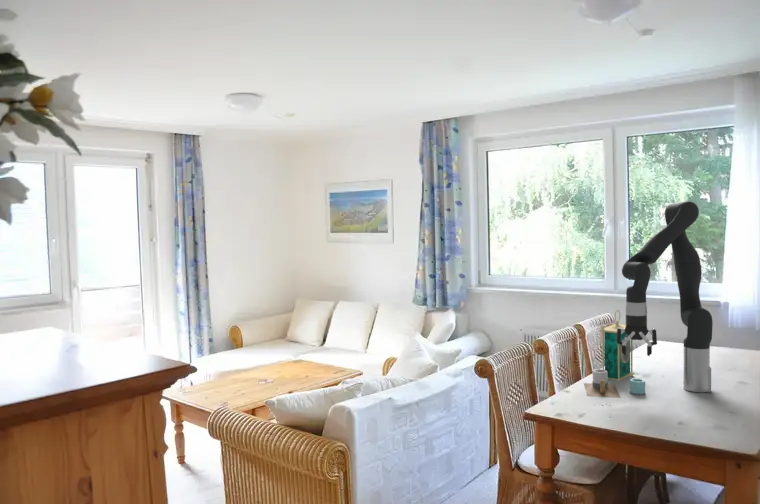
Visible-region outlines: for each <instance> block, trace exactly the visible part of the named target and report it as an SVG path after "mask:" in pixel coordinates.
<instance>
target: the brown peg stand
mask: <svg viewBox="0 0 760 504" xmlns="http://www.w3.org/2000/svg"><path fill="white" fill-rule="evenodd" d="M583 385H584V390H585V393H586V396H587V397H601V398H619V399H620V398H621V395H620V393H619V391H618V389H617V386H616V385H615V384H614V383H613V384H611V383H608V387H607V388H606V389H605V380H600V389H598V388H594V387H593V386H592V383H587V382H585V383H583Z"/></svg>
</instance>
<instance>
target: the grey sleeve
mask: <svg viewBox="0 0 760 504" xmlns="http://www.w3.org/2000/svg"><path fill="white" fill-rule="evenodd" d="M600 380H605V389H606V388H607V387H608V384H609V381H608V380H609V379H608V376H607V371H606V370H605V369H604V370H602V369H600V368H599V369H598V368H596V369H593V370H592V386H593V387H594V388H598V389H600Z"/></svg>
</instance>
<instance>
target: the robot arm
mask: <svg viewBox="0 0 760 504" xmlns="http://www.w3.org/2000/svg"><path fill="white" fill-rule="evenodd" d="M699 210H700V209H699V207H698V205H697V204H696V203H695V202H693V201H677V202H672V203H668V205H666V207H665V211H664V219H665V220H664V221H665V223H666V226H665V227H664V228H662V229H661V230H660V231H658V232H657V233H656V234H654V235H652V237H651V238H649V239H648V241H646V243H645V244H644V245H643V246H642V248H640V250H639V251H637V253H635V254H634V255H632V256H631V257H630V258H628V259H627V260H626V261H625V263H624V264H623V266H622V268H621V274H622V276H623V278H625V279H627V280H633V285H630V286H628V287H626V293H625V294H626V295H625V297H626V302H625V325H626V327H625V329H622V328H617V338H616V342H617V343H618V344H621V345H622V353H623V354H624V355H626V345H625V344H626V343H627V342H628V341H629V340H630V341H631V339H632V341H637V340H638V341H643V340H644V342H645V343H646V344H647V345H646V354H647V357H650V355H652V353H653V350H652V349H653V346H656V345H657V344H658V338H657V330H656V329H655V328H653V327H652V328H648V306H647V289H648V287H649V284H650V283H649V282H650V280H651V275H652V274H651V273H652V272H651V268H650V266H649V265H653V264H655V263H656V262H657V261H658V260H659V259H660V257H661V255H663V254H664V253H665V251H666V250H667V248H668V247H669V246H670V245H671V250H672V255H673V263H674V264H673V265H674V270H675V277H676V282H677V287H678V293H679V304H680V305H679V306H680V307H679V308H680V309H679V310H680V311H679V312H680V320H681V322H682V324H683V325H684V326H685V327H686V328H687V329H686V332H687V333H686V337H685V338H683V339H684V340H683V389H684V390H685V391H688V392H692V393H711V392H712V367H711V361H710V360H711V357H710V355H711V354H710V353H711V352H710V351H711V350H710V349H711V343H712V339H713V338H712V337H713V322H714V321H713V317H712V314H711V312H710V311H709V310H707V309H706V308H703V307H702V303H701V298H700V292H699V291H700V286H701V281H702V264H701V258H700V255H699V253H698V251H697V250H696V248H695V247H694V245H693V244H692V243H691V241H690V240H689V238H688V236H687V233H686V232H687V231H686V230H687V229H688V228H690V226H692V225H693V224H694V223H695V222H696V221H697V220H698V218H699V215H700V211H699ZM624 331H625V333H626V334H627V336H626V337H625V338H624V340H623V341H620V339H621V334H623V332H624ZM647 334H650V335H651V338H652V339H651V341H650V340H649V338H647Z"/></svg>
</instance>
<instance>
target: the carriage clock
mask: <svg viewBox="0 0 760 504" xmlns="http://www.w3.org/2000/svg"><path fill="white" fill-rule="evenodd" d="M614 312H615V313H614V321H615V323H614V324H611V325H609V326H606V327H605V326H604V325H601V329H599V331H600V332H602V333H601V334H602V335H601V337H602V338H601V339H602V340H601V347H602V349H601V350H602V351H601V354H602V355H601V357H602V362H601V363H602V364H601V365H602V367H601V368H602V370H606V371H607V376H608V380H612V381H617V382H619V381H622V380H624V379H625V378H628V377H631V378H633V377H634V375H635V374H636V373H635V372H634V371H633V340H632V339H630V340H629V341H628V342H627V343H626V344H625V345H626V355H624V354H623V353H622V345H621V344H618V343H617V342H616V338H617V328H622V329H625V327H626V324H619V322H620V319H621V311H620V310H619V309H616V310H615V311H614ZM617 312H618V320H617V318H616V314H617ZM626 336H627V334H626V333H625V331H624V332H623V334H621V339H620V341H623V340H624V338H625V337H626Z"/></svg>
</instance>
